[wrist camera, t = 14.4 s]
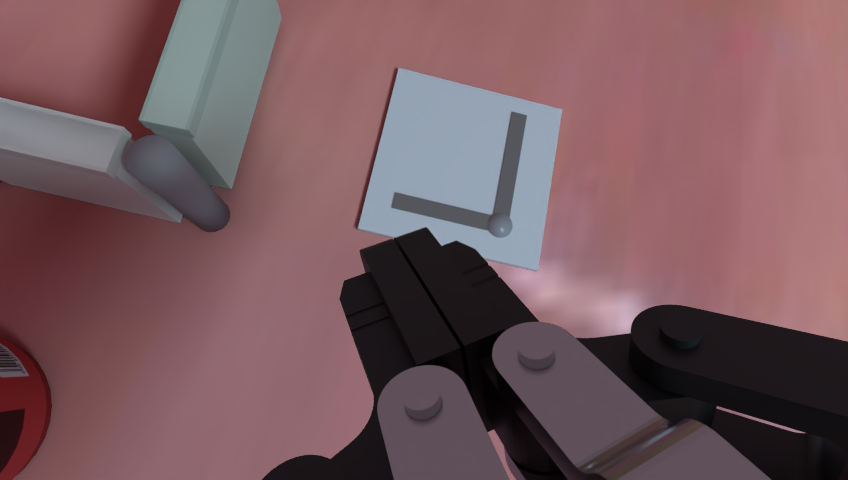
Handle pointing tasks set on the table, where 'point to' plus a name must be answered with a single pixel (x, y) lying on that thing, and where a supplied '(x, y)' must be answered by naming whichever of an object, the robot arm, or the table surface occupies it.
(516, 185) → the card
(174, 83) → the swing panel
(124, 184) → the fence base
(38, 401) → the canned food
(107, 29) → the table surface
